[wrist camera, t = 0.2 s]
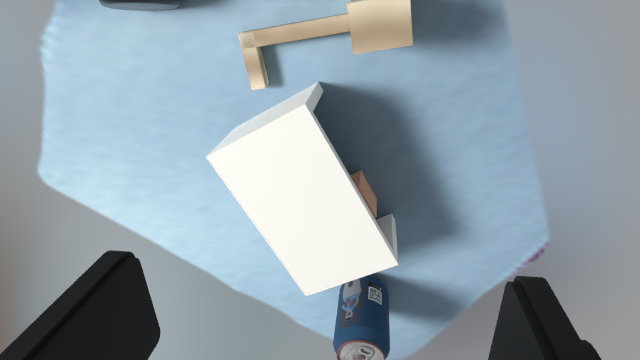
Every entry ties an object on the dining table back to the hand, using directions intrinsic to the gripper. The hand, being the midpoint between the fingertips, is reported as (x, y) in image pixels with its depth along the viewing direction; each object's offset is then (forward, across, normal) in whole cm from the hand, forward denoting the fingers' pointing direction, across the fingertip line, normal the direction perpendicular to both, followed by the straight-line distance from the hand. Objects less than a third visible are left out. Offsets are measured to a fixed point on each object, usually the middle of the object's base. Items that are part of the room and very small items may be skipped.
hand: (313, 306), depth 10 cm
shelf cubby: (+36, +6, +14) cm, 39 cm away
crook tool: (+36, +4, -2) cm, 36 cm away
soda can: (+37, -1, +32) cm, 49 cm away
